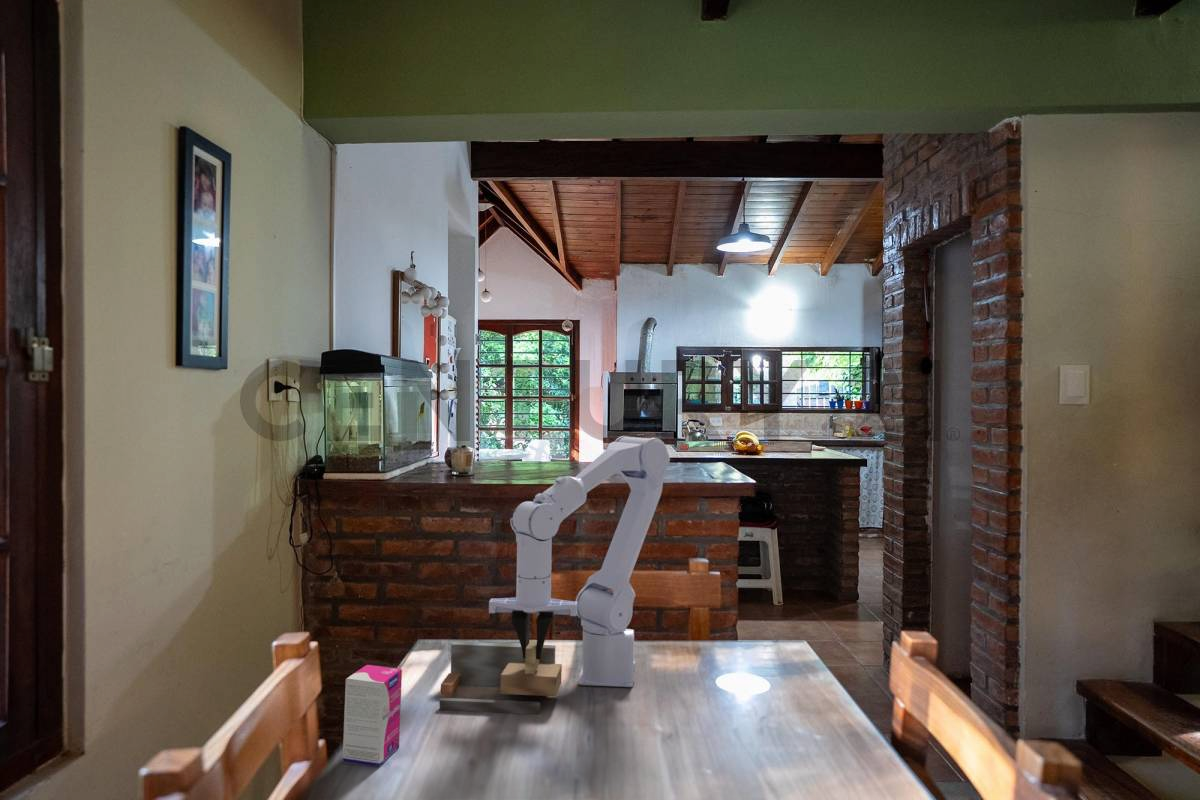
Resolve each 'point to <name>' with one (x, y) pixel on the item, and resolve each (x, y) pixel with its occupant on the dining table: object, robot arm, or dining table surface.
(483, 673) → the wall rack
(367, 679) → the supplement box
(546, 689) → the tan box with handle
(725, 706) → the dining table surface
